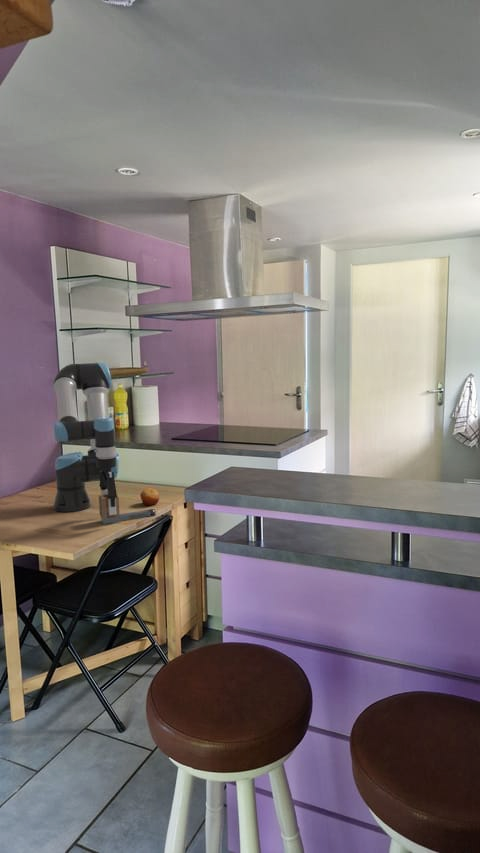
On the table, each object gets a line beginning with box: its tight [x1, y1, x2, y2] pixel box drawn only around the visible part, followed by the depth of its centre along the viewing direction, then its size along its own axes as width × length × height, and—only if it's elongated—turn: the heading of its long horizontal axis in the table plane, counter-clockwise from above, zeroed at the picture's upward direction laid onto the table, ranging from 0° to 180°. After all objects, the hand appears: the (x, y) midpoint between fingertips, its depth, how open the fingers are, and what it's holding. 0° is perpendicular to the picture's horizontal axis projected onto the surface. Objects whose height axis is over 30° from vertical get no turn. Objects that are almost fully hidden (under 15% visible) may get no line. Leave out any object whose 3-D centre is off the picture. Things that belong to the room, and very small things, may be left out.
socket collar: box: [98, 494, 121, 519], centre depth 212 cm, size 6×6×8 cm
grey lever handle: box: [100, 508, 157, 526], centre depth 216 cm, size 5×22×7 cm, turn 116°
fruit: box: [140, 487, 160, 507], centre depth 236 cm, size 8×8×8 cm
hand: (109, 510), depth 212 cm, fingers open, 13 cm apart
